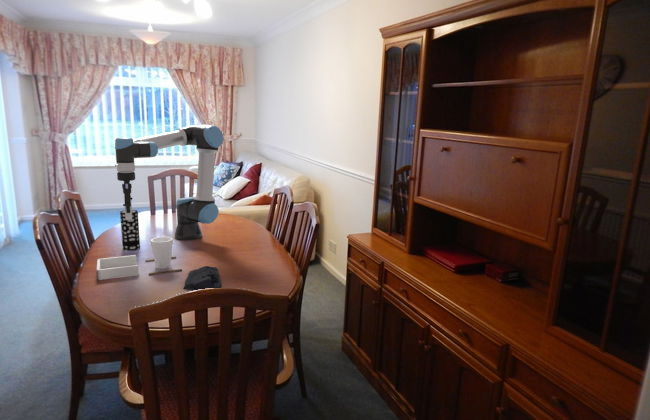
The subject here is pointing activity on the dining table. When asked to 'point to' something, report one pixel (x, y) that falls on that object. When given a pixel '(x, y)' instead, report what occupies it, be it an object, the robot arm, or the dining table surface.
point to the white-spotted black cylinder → (130, 231)
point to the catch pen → (117, 267)
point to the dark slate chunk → (203, 278)
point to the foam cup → (162, 251)
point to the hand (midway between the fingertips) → (128, 216)
